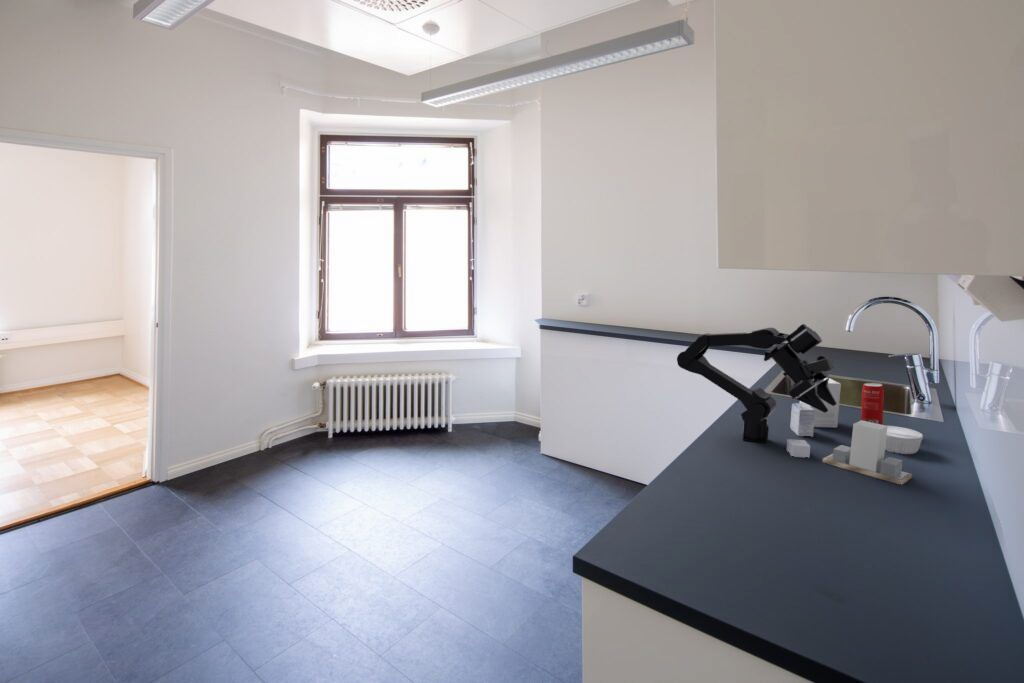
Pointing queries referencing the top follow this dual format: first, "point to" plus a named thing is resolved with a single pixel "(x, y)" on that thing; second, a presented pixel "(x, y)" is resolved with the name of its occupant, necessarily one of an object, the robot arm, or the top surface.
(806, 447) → the block
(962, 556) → the top surface
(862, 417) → the beverage can
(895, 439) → the ramekin
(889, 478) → the board
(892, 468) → the block
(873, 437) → the block
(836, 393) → the supplement box
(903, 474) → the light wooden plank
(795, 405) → the medicine box
